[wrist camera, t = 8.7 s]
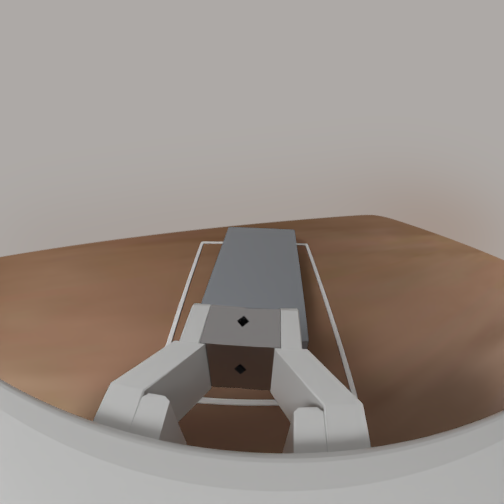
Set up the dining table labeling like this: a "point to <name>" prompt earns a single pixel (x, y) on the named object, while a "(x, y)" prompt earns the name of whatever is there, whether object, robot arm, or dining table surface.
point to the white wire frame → (263, 402)
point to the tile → (258, 272)
